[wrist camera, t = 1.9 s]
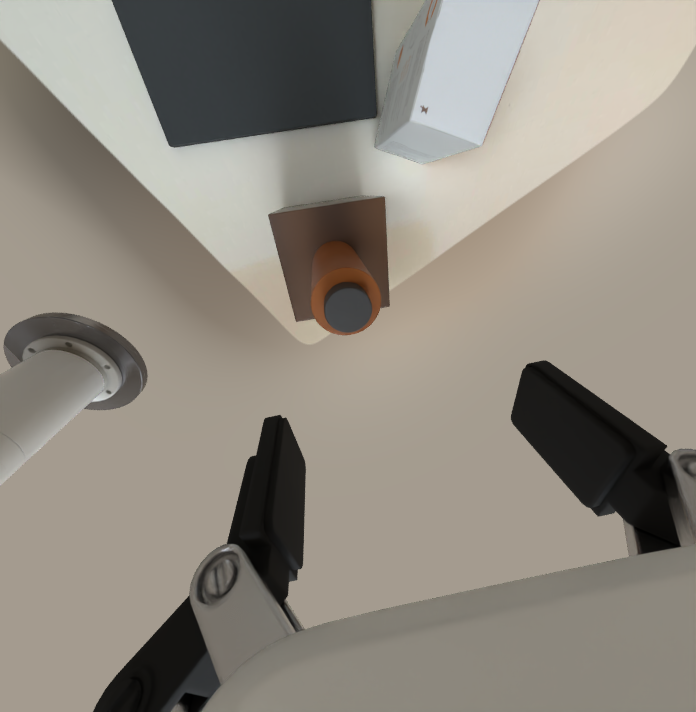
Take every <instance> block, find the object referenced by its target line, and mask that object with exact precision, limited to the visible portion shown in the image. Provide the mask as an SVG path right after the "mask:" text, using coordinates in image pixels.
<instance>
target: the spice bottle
mask: <svg viewBox="0 0 696 712" xmlns="http://www.w3.org/2000/svg"><path fill="white" fill-rule="evenodd" d="M380 307H381V293H380V289H379V287H378V285H377V283H376V282H375V280H374V279H373V277H372V276H371V274H370V273H369V271H368V270H367V268H366V267H365V265H364V264H363V263H362V261H361V260H360V258H359V257H358V255H357V254H356V252H355V251H354V250H353V248H352V247H351V246H349V245H348V244H346V243H344V242H341V241H331V242H327V243H325V244H323V245H322V246H321V247H320V248H319V249H318V250H317V251H316V253H315V255H314V258H313V263H312V283H311V310H312V313H313V316H314V318H315V319H316V321H317V322H318V323H319V325H320V326H322V327H323V328H324V329H325V330H327V331H329V332H331V333H334V334H338V335H351V334H356V333H359V332H361V331H363V330H364V329H366V328H367V327H369V326H370V325H371V324H372V323H373V321H374V320H375V319H376V317H377V315H378V313H379V311H380Z"/></svg>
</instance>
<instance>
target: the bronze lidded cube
mask: <svg viewBox="0 0 696 712" xmlns="http://www.w3.org/2000/svg"><path fill="white" fill-rule="evenodd" d="M268 216H269V220H270V224H271V228H272V232H273V236H274V239H275V243H276V247H277V251H278V255H279V258H280V262H281V266H282V270H283V274H284V277H285V281H286V285H287V289H288V293H289V297H290V300H291V304H292V308H293V312H294V316H295V319H296V322H298V321H304V320H310V319H315V318H314V316H313V313H312V310H311V283H312V263H313V258H314V255H315V253H316V251H317V250H318V249H319V248H320V247H321V246H322V245H323V244H325V243H327V242H331V241H341V242H344V243H346V244H348V245H349V246H351V247H352V248H353V250H354V251H355V252H356V254H357V255H358V257H359V258H360V260H361V261H362V263H363V264H364V265H365V267H366V268H367V270H368V271H369V273H370V274H371V276H372V277H373V279H374V280H375V282H376V283H377V285H378V287H379V289H380V293H381V307H380V308H384V307H389V305H390V304H389V280H388V256H387V233H386V209H385V197H384V196H357V197H351V198H344V199H338V200H331V201H325V202H318V203H312V204H305V205H299V206H292V207H286V208H282V209H280V210H277V211H275V212H273V213H270V214H269V215H268Z"/></svg>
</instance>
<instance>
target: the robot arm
mask: <svg viewBox="0 0 696 712" xmlns="http://www.w3.org/2000/svg"><path fill="white" fill-rule="evenodd" d="M22 357H23V362H21V363H19V364H18V365H16V366H14V367H12V368H11V369H9V370H7V371H5V372H4V373H2V374H0V486H1V485H2V484H3V483H4V482H5V481H6V480H7V479H8V478H9V477H10V476H11V475H12V474H13V473H14V472H15V471H16V470H18V469H19V468H20V467H21V466H22V465H23V464H24V463H25V462H26V461H27V460H28V459H29V458H30V457H32V456H33V455H34V454H35V453H36V452H37V451H38V450H39V449H40V448H42V447H43V446H44V445H45V444H46V443H47V442H48V441H49V440H50V439H51V438H52V437H53V436H54V435H55V434H57V433H58V432H59V431H60V430H61V429H62V428H63V427H64V426H65V425H66V424H67V423H69V422H70V421H71V420H72V419H73V418H74V417H75V416H76V415H77V414H78V413H79V412H80V411H81V410H83V409H84V408H85V407H86V406H87V405H88V404H89V403H90V402H95V401H101V400H105V399H107V398H110V397H111V396H112V395H114V394H115V393H116V392H117V391H118V390H119V388H120V386H121V384H122V375H121V372H120V370H119V367H118V366H117V365H116V363H115V362H114V361H113V360H112V359H111V357H110V356H109V355H107V354H106V353H105V352H103V351H102V350H101V349H99V348H97V347H96V346H94V345H92V344H90V343H88V342H86V341H83V340H80V339H77V338H73V337H68V336H59V335H53V336H46V337H42V338H39V339H37V340H35V341H33V342H31V343H30V344H29V345H27V347H26V348H25V349H24V352H23V356H22ZM511 420H512V422H513V424H514V426H515V427H516V428H517V429H518V430H519V431H520V433H521V434H522V435H523V436H524V437H525V438H526V440H527V441H528V442H529V443H530V444H531V445H532V446H533V448H534V449H535V450H536V451H537V452H538V453H539V454H540V455H541V457H542V458H543V459H544V460H545V461H546V463H547V464H548V465H549V466H550V467H551V468H552V469H553V471H554V472H555V473H556V474H557V475H558V476H559V477H560V479H561V480H562V481H563V482H564V483H565V484H566V485H567V487H568V488H569V489H570V490H571V491H572V492H573V493H574V495H575V496H576V497H577V498H578V499H579V500H580V502H581V503H583V504H584V505H585V506H586V507H589V508H591V509H592V510H593V511H594V513H595V514H596V515H597V516H603V515H608V514H612V513H614V512H615V511H616V512H617V513H618V514H619V515H620V516H621V517H622V518H623V522H624V528H625V534H626V541H627V547H628V553H629V557H627V558H622V559H617V560H612V561H607V562H603V563H597V564H593V565H588V566H584V567H578V568H573V569H568V570H564V571H559V572H554V573H550V574H545V575H541V576H535V577H531V578H526V579H521V580H516V581H512V582H507V583H503V584H498V585H493V586H488V587H484V588H479V589H474V590H470V591H465V592H460V593H456V594H451V595H446V596H442V597H437V598H432V599H428V600H423V601H419V602H414V603H410V604H405V605H401V606H396V607H391V608H387V609H382V610H378V611H373V612H369V613H365V614H361V615H357V616H353V617H349V618H344V619H340V620H336V621H332V622H328V623H324V624H322V625H318V626H315V627H311V628H308V629H304V627H303V625H302V624H301V622H300V621H299V619H298V618H297V616H296V615H295V613H294V612H293V610H292V609H291V607H290V605H289V604H288V602H287V601H286V597H287V596H288V586H289V585H288V584H289V582H290V581H295V580H297V573H298V569H301V568H302V566H303V545H304V510H305V473H306V467H305V460H304V458H303V456H302V453H301V451H300V448H299V446H298V444H297V441H296V439H295V437H294V434H293V432H292V429H291V427H290V425H289V422H288V420H287V418H282V417H281V415H278V416H273V417H268V418H265V419H264V423H263V427H262V432H261V437H260V441H259V445H258V450H257V455H256V456H252V457H250V458H249V459H248V462H247V465H246V469H245V473H244V477H243V481H242V485H241V489H240V493H239V497H238V501H237V505H236V509H235V513H234V517H233V521H232V525H231V529H230V533H229V537H228V542H227V544H225V545H222V546H220V547H218V548H216V549H215V550H213V551H212V552H211V553H210V554H208V555H207V557H206V558H205V559H204V560H203V561H202V562H201V564H200V565H199V567H198V569H197V570H196V572H195V574H194V577H193V579H192V582H191V586H190V593H189V594H190V595H189V596H188V598H187V599H186V600H185V601H184V602H183V603H182V604H181V605H180V606H179V607H178V609H177V610H176V611H175V612H174V613H173V614H172V615H171V616H170V617H169V618H168V619H167V621H166V622H165V623H164V624H163V625H162V626H161V627H160V628H159V629H158V630H157V632H156V633H155V634H154V635H153V636H152V637H151V638H150V639H149V641H148V642H146V644H145V645H144V646H143V647H142V648H141V649H140V650H139V651H138V652H137V653H136V655H135V656H134V657H133V658H132V659H131V660H130V661H129V662H128V663H127V664H126V666H124V668H123V669H122V670H121V671H120V672H119V673H118V674H117V675H116V677H115V678H114V679H113V680H112V682H111V683H110V684H109V685H108V687H107V688H106V689H105V691H104V693H103V695H102V696H101V698H100V699H99V701H98V703H97V704H96V707H95V709H94V711H93V712H696V450H693V449H679V450H675V451H673V452H672V453H671V455H670V454H669V453H667V452H666V451H665V448H666V447H667V445H665V444H664V443H662V442H661V441H660V440H658V439H657V438H655V437H654V436H653V435H651V434H650V433H648V432H647V431H646V430H644V429H643V428H641V427H640V426H638V425H637V424H636V423H634V422H633V421H631V420H630V419H629V418H627V417H626V416H624V415H623V414H622V413H620V412H619V411H617V410H616V409H614V408H613V407H612V406H610V405H609V404H607V403H606V402H605V401H603V400H602V399H600V398H599V397H597V396H596V395H595V394H593V393H592V392H590V391H589V390H588V389H586V388H585V387H583V386H582V385H581V384H579V383H578V382H576V381H575V380H573V379H572V378H571V377H569V376H568V375H567V374H565V373H563V372H562V371H561V370H559V369H558V368H557V367H555V366H554V365H552V364H551V363H550V362H548V361H539V362H534V363H529V364H527V365H526V367H525V368H524V369H523V371H522V374H521V378H520V382H519V386H518V390H517V394H516V398H515V402H514V406H513V410H512V414H511Z"/></svg>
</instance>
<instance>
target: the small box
mask: <svg viewBox="0 0 696 712" xmlns="http://www.w3.org/2000/svg"><path fill="white" fill-rule="evenodd" d="M539 1H540V0H426V1H425V2H424V4H423V6H422V7H421V9H420V11H419V13H418V14H417V16H416V18H415V20H414V22H413V23H412V25H411V27H410V29H409V30H408V32H407V34H406V35H405V37H404V39H403V41H402V42H401V44H400V46H399V47H398V49H397V51H396V55H395V59H394V63H393V67H392V71H391V76H390V80H389V84H388V89H387V93H386V97H385V102H384V106H383V111H382V115H381V119H380V124H379V128H378V133H377V137H376V142H375V148H376V149H379V150H382V151H385V152H388V153H391V154H394V155H397V156H400V157H403V158H406V159H409V160H412V161H414V162H417V163H420V164H425V163H429V162H432V161H436V160H439V159H442V158H445V157H448V156H452V155H455V154H458V153H461V152H464V151H468V150H471V149H474V148H477V147H480V146H482V145H483V143H484V140H485V138H486V135H487V133H488V130H489V128H490V125H491V122H492V120H493V117H494V115H495V112H496V110H497V107H498V105H499V102H500V100H501V97H502V95H503V92H504V90H505V87H506V84H507V82H508V80H509V77H510V75H511V72H512V69H513V67H514V65H515V62H516V60H517V57H518V54H519V52H520V49H521V47H522V44H523V42H524V39H525V37H526V34H527V31H528V29H529V26H530V24H531V21H532V19H533V16H534V14H535V11H536V9H537V6H538V4H539Z"/></svg>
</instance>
